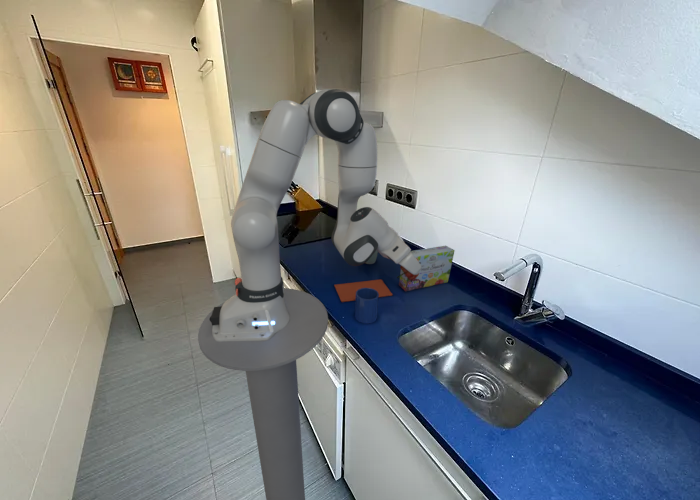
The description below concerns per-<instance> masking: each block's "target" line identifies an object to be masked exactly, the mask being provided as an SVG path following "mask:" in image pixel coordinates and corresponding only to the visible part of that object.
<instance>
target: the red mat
mask: <svg viewBox="0 0 700 500" xmlns="http://www.w3.org/2000/svg"><path fill="white" fill-rule="evenodd" d="M333 286H334V288H335V290H336V293H337V295H338V298H339V300H340V302H341V303H346V302H347V303H348V302H355V299H356V291H357V290H358V289H361V288H372V289H375V290H376V291H377V292H378V293H379V298H383V297H392V296H393V293H392V292H391V290H390V289H389V288H388V286H387V285H386V284H385V282H384V280H383V279H372V280H363V281H354V282H347V283H346V282H345V283H337V284H334V285H333Z"/></svg>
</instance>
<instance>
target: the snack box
mask: <svg viewBox="0 0 700 500" xmlns="http://www.w3.org/2000/svg"><path fill="white" fill-rule="evenodd" d="M410 252H411V253H412V254H413V255H414V257H415V258H416V259H417V260H418V262H421V264H420V265H421V267H422V268H421V270H420V272H419V275H418V277H417V278H415V279H413V280H409V279H408V278H407V277H406V276H405V274H403V273H404V272H403V271H402V270H401V269H400V271H399V272H400V273H399V276H400V275H401V274H403V275H402V276H400V277H399V282H398V286H399V287H400V288H401V289H402V290H403V291H404V292H409V291H414V290H418V289H422V288H428V287H432V286H437V285H440V284H445V283H448V282H449V278H450V274H451V270H452V266H453V260H454V255H455V252H456V250H455V249H453V248H451V247H450V246H448V245H439V246H433V247H428V248H422V249H415V250H411V251H410Z"/></svg>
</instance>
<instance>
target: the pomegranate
mask: <svg viewBox="0 0 700 500" xmlns="http://www.w3.org/2000/svg"><path fill="white" fill-rule="evenodd" d="M419 263H420V264H421V262H419ZM399 268H400V271H401V270H402V271H403V272H404V273H403V274H405V276H406V277H407V278H408V279H409V280H413V279H415V278H417V277H418V275H419V273H418V274H417V275H413V274H412V273H410V272H409V271H408V270H406V269H405V268H404V267H402V266H401V265H400V267H399ZM403 274H401V275H400V274H399V275H398V276H397V277H396V278H397V279H398V278H400V276H402V275H403Z"/></svg>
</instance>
